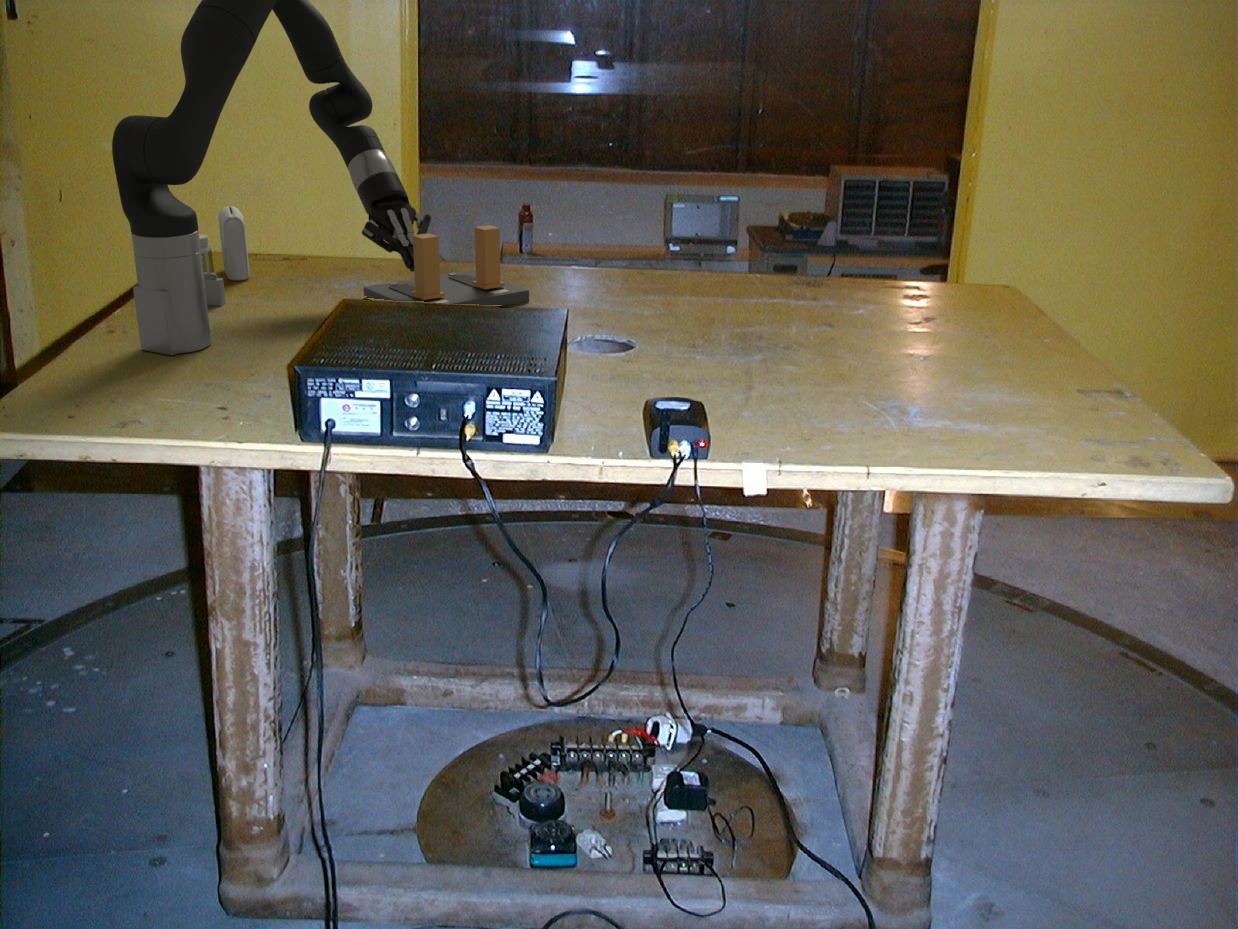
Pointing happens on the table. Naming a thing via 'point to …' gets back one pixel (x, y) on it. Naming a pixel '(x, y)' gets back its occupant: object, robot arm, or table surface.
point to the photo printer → (233, 243)
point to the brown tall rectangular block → (487, 257)
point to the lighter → (214, 289)
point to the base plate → (452, 291)
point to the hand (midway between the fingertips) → (417, 268)
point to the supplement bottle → (206, 254)
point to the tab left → (426, 267)
